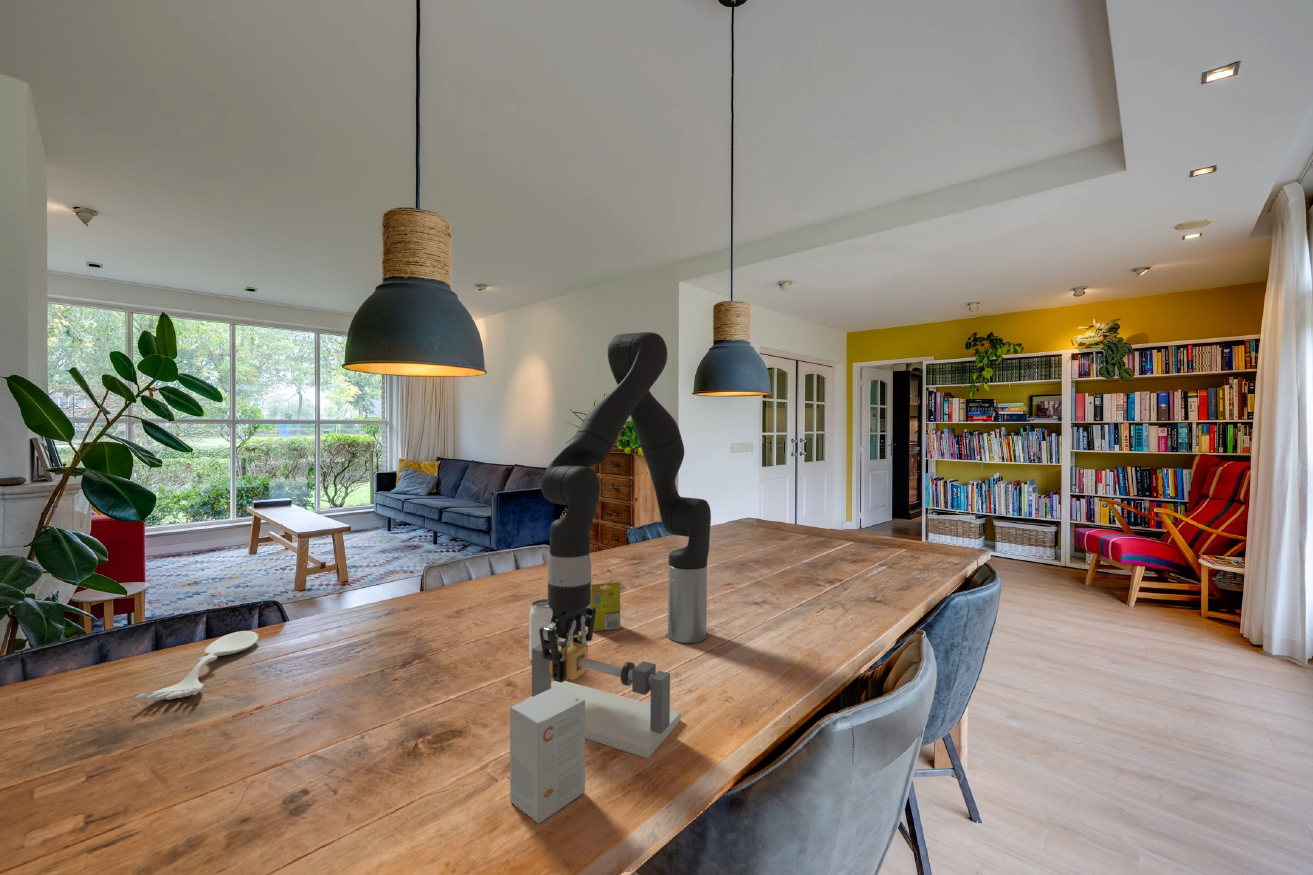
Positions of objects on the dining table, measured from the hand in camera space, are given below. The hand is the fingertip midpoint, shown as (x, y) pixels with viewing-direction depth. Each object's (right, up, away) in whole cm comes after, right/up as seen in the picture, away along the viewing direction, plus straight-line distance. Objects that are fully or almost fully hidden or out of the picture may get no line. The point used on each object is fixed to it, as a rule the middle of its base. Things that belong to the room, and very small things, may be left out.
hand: (568, 673), depth 96 cm
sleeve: (0, 0, 0) cm, 0 cm away
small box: (+1, -7, -23) cm, 24 cm away
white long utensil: (-75, -6, +14) cm, 76 cm away
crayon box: (+3, -6, +39) cm, 40 cm away
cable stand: (+5, -6, -3) cm, 9 cm away
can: (-9, -6, +21) cm, 24 cm away
